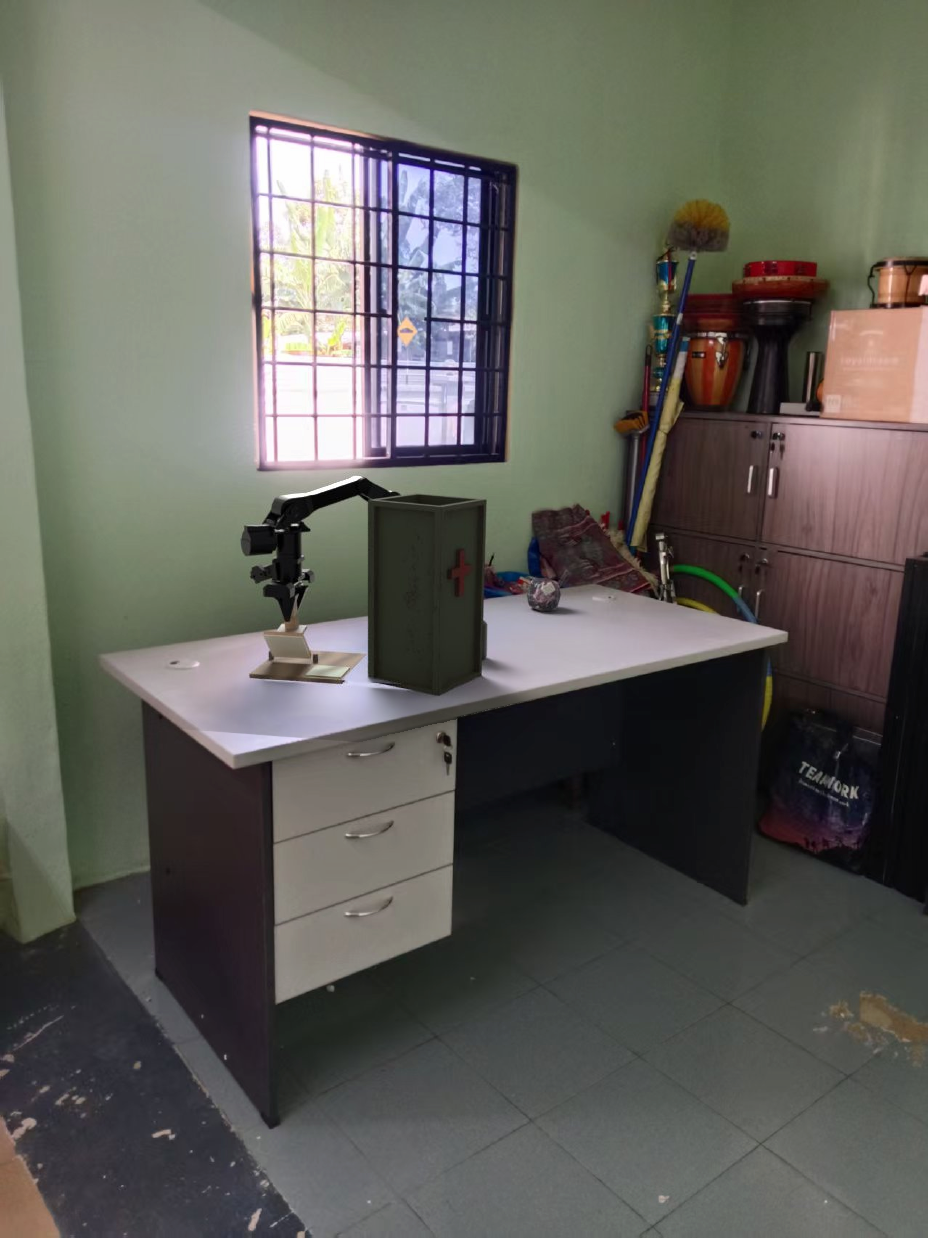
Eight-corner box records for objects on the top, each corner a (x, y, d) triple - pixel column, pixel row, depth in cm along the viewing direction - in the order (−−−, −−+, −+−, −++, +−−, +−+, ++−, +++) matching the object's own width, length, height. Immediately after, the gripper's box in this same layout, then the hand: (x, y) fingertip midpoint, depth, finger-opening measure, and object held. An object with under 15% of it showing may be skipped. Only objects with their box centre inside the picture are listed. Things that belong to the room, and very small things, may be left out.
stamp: (307, 628, 227) (304, 597, 223) (299, 640, 221) (296, 608, 218) (282, 626, 227) (278, 595, 224) (273, 638, 222) (270, 607, 218)
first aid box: (414, 662, 231) (416, 493, 222) (481, 675, 222) (486, 499, 213) (367, 681, 216) (367, 500, 207) (438, 695, 207) (441, 506, 198)
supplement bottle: (490, 656, 238) (491, 608, 236) (481, 663, 232) (483, 614, 229) (463, 653, 241) (464, 605, 238) (454, 660, 234) (455, 611, 232)
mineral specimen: (522, 606, 285) (525, 573, 287) (529, 613, 295) (532, 581, 297) (555, 608, 282) (558, 574, 284) (561, 615, 292) (564, 582, 294)
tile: (303, 633, 218) (301, 637, 218) (311, 654, 226) (310, 659, 225) (264, 630, 220) (263, 635, 219) (274, 652, 227) (272, 656, 226)
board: (366, 657, 235) (366, 646, 234) (341, 684, 213) (341, 671, 213) (281, 652, 237) (281, 640, 237) (249, 678, 216) (249, 665, 216)
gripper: (268, 543, 230) (270, 607, 234) (239, 558, 212) (241, 627, 216) (314, 545, 228) (315, 610, 232) (288, 561, 210) (290, 631, 214)
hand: (290, 619), depth 224 cm, fingers open, 4 cm apart
